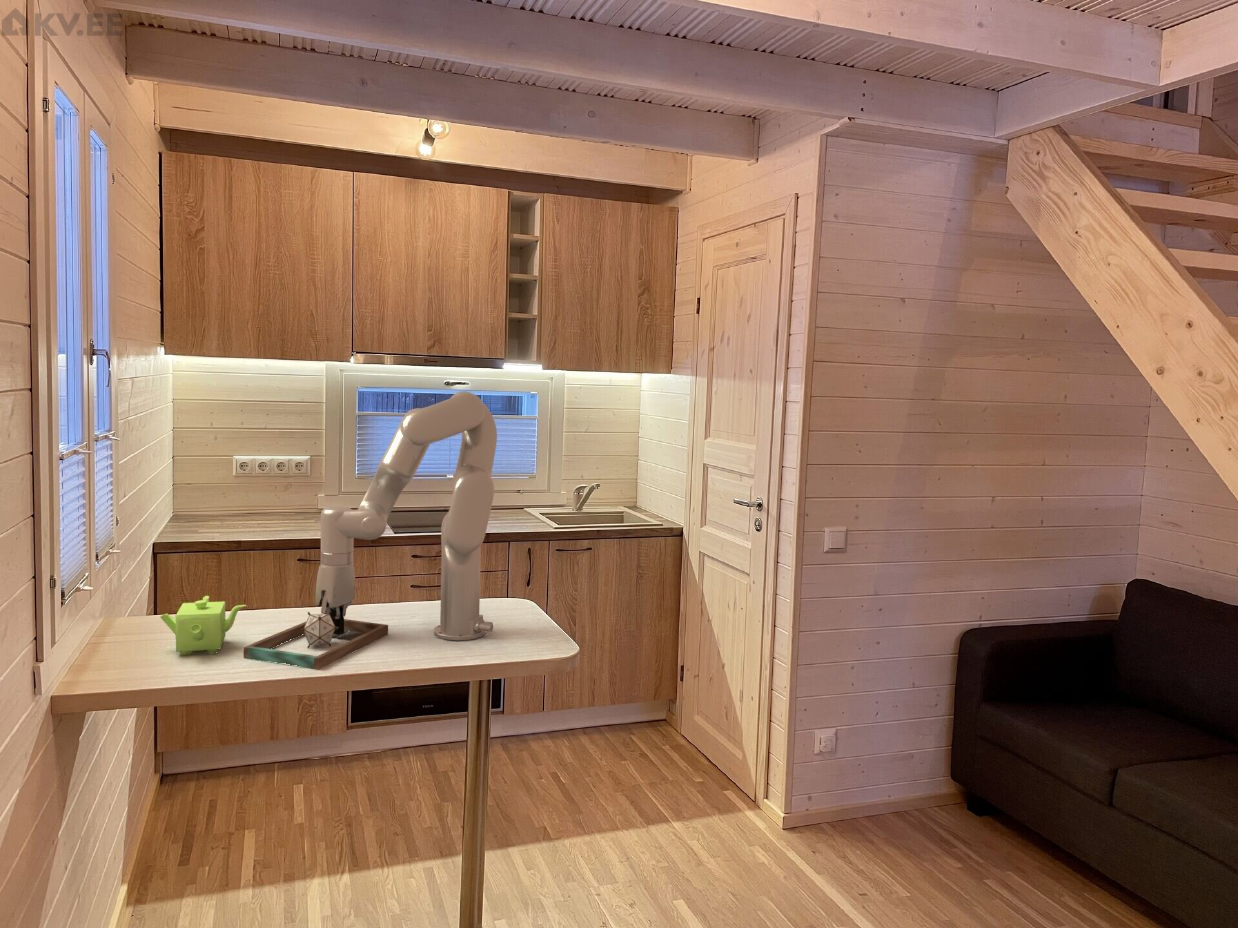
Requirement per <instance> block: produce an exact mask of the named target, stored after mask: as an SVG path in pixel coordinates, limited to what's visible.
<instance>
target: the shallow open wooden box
mask: <svg viewBox="0 0 1238 928" xmlns="http://www.w3.org/2000/svg"><path fill="white" fill-rule="evenodd" d="M306 622H307V620H306V621H304V622H302V623H298V624H297V625H294V626H292V627H289V628H286V629H284V630H283V631H282V630H281V631H280V632H277V633H275V634H272V635H269V636H267V637H265V638H262V639H260V640H258V641H255V642H252V643H250V644H248V645H246V646H243V659H247V660H253V659H255V661H259V660H261V662H266V661H271V662H270V663H272V662H277V663H276V664H279V663H286V664H290V665H289V666H292V665H297V666H296V667H298V666H301V667H300V668H305V667H307V669H312V670H321V669H323V668H325V667H327V666H329V665H331V664H334V663H335V662H337V661H339V660H341V659H343V658H345V657H347V656H349V655H351V654H353V653H355V652H357V651H358V650H361V649H363V648H365V647H366V646H368V645H369V646H370V644H373V643H375V642H376V641H379V640H381V639H383V638H385V637H387V636H388V635H389V624H383V623H377V622H370V621H363V620H357V619H356V620H355V619H347V618H344V633H342V634H340V635H336V634H333V637H332V639H335V638H337V640H343V639H344V640H345V641H346V642H344V643H342V644H340V645H338V646H336V647H333V648H332V649H329V650H327V651H326V652H323V653H321V654H319V655H311V654H305V653H299V652H291V651H286V650H285V651H284V650H280V649H279V650H278V649H274V648H276V646H277V645H279V646H281V645H282V644H281V643H284V642H286V641H288V642H290V641H289V640H290V639H293V638H295V639H297V638H296V637H298V636H300V637H301V635H302V634H304V632H301V630H300V629H301V628H303V629H304V626H305V624H306ZM304 635H305V634H304ZM302 636H303V635H302ZM298 638H299V637H298ZM293 640H294V639H293ZM286 643H287V642H286ZM280 644H281V645H280ZM284 644H285V643H284ZM273 647H274V648H273ZM277 647H278V646H277ZM271 648H272V649H271ZM356 650H357V651H356ZM354 651H355V652H354ZM352 652H353V653H352ZM350 653H351V654H350ZM348 654H349V655H348Z"/></svg>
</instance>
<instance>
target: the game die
mask: <svg viewBox="0 0 1238 928" xmlns="http://www.w3.org/2000/svg"><path fill="white" fill-rule="evenodd" d="M330 614H331V611H329V614H322V613H316V614H315V613H314V614H311V612H310V611H307V615H308V617H307V620H306V621H307V622H306V621H305V622H306V624H305V626H304V629H303V628H301V629H300V630H301V632H304V636H305V638H306V641H307V643H308V645H307V649H309V648H310V647H311V646H321V645H328V647H330V648H332V644H331V642H332V639H333V638H332V637H333V634H334V632H335V630H336V631H337V630H338V628H339V627H335V625H334V623H333V620H332V618H331V616H330Z"/></svg>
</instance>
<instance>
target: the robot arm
mask: <svg viewBox="0 0 1238 928" xmlns="http://www.w3.org/2000/svg"><path fill="white" fill-rule="evenodd" d="M459 434H461V442H460V447H459V448H460V449H459V453H458V454H459V455H458V460H457V464H456V468H455V471H454V476H453V478H452V482H451V488H452V496H451V501H450V505H449V509H448V511H447V512H446V514H445V515H444V517H443V519H442V522H441V527H440V528H441V530H440V535H441V536H440V539H441V544H440V545H441V567H440V568H441V572H440V617H439V618H440V624H439V625H437V626H435V627H434V628H433V634H434V636H435V637H437V638H439V639H442V640H447V641H469V640H471V641H472V640H475V639H478V638H481V637H483V636H484V635H485V634H486V632H488V633H492V632H493V630H494V624H493V622H492V621H486V620H484V615H482V614H480V603H481V602H480V599H481V598H480V597H481V596H480V595H481V594H480V593H481V567H482V566H481V564H482V563H481V557H482V556H481V553H482V552H481V549H482V548H481V545H483V543H484V540H485V537H486V534H487V533H486V532H487V529H488V523H489V519H490V515H491V511H492V506H493V503H494V502H493V501H494V496H495V486H494V481H493V479H492V472H493V471H492V470H493V467H494V462H495V455H496V449H497V442H498V431H497V426H496V421H495V418H494V416H493V414H492V413H491V411H490V409H489V407H488V406H486V404H485V403H484V402H483V401H482V398H480V397H479V396H478V395H476V394H474V393H472V392H470V391H459V392H456V393H455V394H453V395H452V396H451V397H450V398H448V399H445V400H442V401H440V402H437V403H434V404H431V405H429V406H426V407H422V408H421V407H417V408H413V409H410V410H408V411H407V412H406V413H405V415H403V417H402V418H401V421H400V422H399V424H398V427H397V429H396V430H395V432H394V435H393V437H392V438H391V441H390V442H389V444H388V447H387V448H386V451H385V453H384V455H383V456H382V458H381V460H380V462H379V464H378V467H377V469H376V472H375V474H374V477H373V479H372V481H371V483H370V485H369V487H368V488H367V490H366V492H365V494H364V496H363V498H362V500H361V502H360V504H359V506H358V508H357V509H352V508H350V507H349V506H342V505H341V506H340V505H339V506H338V505H334V506H327V507H325V508H323V509H322V510H321V513H320V565H319V566H318V571H317V576H316V585H315V606H316V607H321V608H320V614H329V611H331V614H330V616H331V618H332V620H333V623H334V625H335V627H339V628H338V630H337V631H336V630H335V632H334V634H336V635H340V634H342V633H344V619H345V617H346V613H347V609H348V607H350V605H351V604H352V603H353V602H352V601H353V600H354V599H355V596H356V576H355V575H356V573H355V566H354V550H355V549H354V541H355V540H354V539H358V540H367V541H369V540H370V541H372V540H376V539H378V538H380V537H381V536H383V535H384V533H385V531H386V529H387V522H388V521H387V520H388V519H389V517H390V515H391V513H392V510H393V508H394V507H395V505H396V503H397V501H398V499H399V497H400V495H401V493H402V492H403V490H404V489H405V488H406V487H407V486H408V485H409V484H410V483H411V481H412V480H413V479H414V477H415V474H416V473H417V471H418V469H419V467H420V465H421V463H422V460H423V459H424V456H425V455H426V453H427V451H428V449H429V447H430V445H431V444H434V443H437V442H441V441H443V440H446V439H448V438H451V437H454V436H456V435H459ZM344 634H345V633H344ZM342 635H343V634H342ZM340 636H341V635H340Z"/></svg>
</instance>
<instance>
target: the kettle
mask: <svg viewBox="0 0 1238 928" xmlns="http://www.w3.org/2000/svg"><path fill="white" fill-rule="evenodd" d="M246 606H247V604H239V605H235V606H234V607H232V609H231V610H230V613H229V616H228V617H227V619H226V601H210V596H209V595H205V596H203V597H202V599H201V600H196V601H194V602H183V603H182V604H181V606H180V607H179V609H178V611H177V613H176V615H175V618H174V617H172V616H171V615H170V614H169V613H168V612H167V613H163V614H161V615H160V616H159V617H160V619H161V620H162V621H163V622H164V623H165V624H166V626H167V627H168V628H169V630H171V631H172V633H173V634H174V635H175V652H181V653H180V655H181V656H189V655H192V654H193V652H195V651H207V654H209V653H215V654H217V653H216V652H218V651H219V650H221V648H222V646H223V643H224V642H225V641H224V640H225V638H226V633H227V632H229V631H230V629H232V627H233V625H234V622H235V621H236V616H237V614H238V612H239V611H240V610H241V609H243V608H245V607H246ZM218 653H219V652H218Z"/></svg>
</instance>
